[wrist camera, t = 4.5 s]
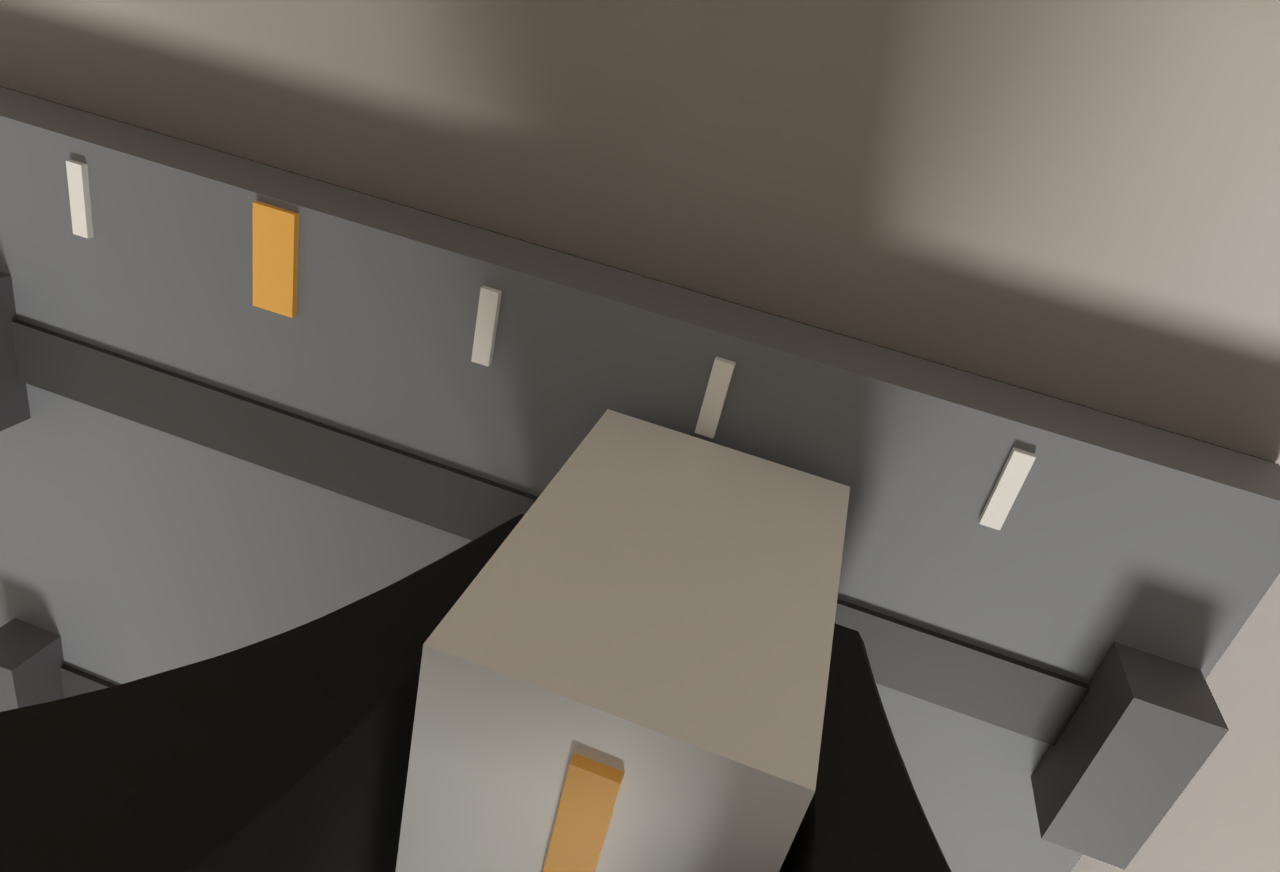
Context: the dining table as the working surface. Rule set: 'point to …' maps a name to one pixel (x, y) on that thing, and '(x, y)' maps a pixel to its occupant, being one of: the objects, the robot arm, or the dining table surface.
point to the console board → (543, 442)
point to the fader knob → (633, 669)
